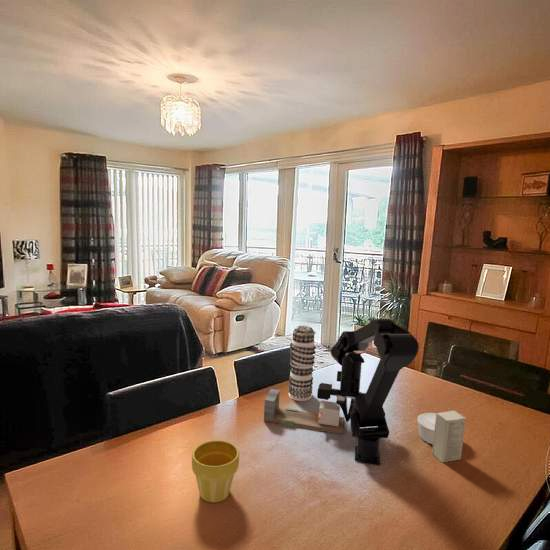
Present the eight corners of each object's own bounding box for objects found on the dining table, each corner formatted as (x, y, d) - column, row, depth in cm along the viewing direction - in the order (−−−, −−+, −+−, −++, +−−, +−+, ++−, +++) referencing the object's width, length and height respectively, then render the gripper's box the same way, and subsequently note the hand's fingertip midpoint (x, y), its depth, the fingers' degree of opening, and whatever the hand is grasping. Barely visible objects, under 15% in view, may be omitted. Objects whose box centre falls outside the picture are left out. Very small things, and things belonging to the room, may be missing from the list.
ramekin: (413, 442, 110) (415, 425, 109) (418, 424, 120) (420, 408, 119) (455, 454, 105) (458, 436, 104) (457, 435, 115) (459, 418, 114)
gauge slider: (337, 431, 111) (338, 415, 110) (317, 428, 112) (318, 412, 112) (339, 418, 119) (340, 403, 118) (320, 415, 120) (321, 400, 119)
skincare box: (449, 450, 107) (454, 409, 105) (461, 460, 102) (467, 418, 101) (430, 453, 105) (435, 412, 103) (442, 463, 101) (447, 420, 99)
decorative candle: (284, 398, 133) (287, 329, 129) (290, 388, 142) (294, 322, 138) (309, 403, 130) (314, 332, 127) (315, 392, 139) (319, 325, 136)
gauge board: (342, 435, 112) (344, 412, 111) (263, 422, 117) (264, 400, 116) (343, 420, 120) (345, 399, 119) (269, 409, 125) (270, 388, 124)
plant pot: (216, 471, 93) (217, 433, 92) (247, 491, 87) (248, 451, 86) (181, 493, 85) (182, 452, 84) (212, 517, 79) (213, 474, 78)
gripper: (382, 366, 119) (378, 413, 122) (322, 359, 123) (319, 404, 126) (383, 380, 109) (379, 431, 111) (318, 372, 113) (315, 421, 115)
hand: (347, 421), depth 116 cm, fingers closed
